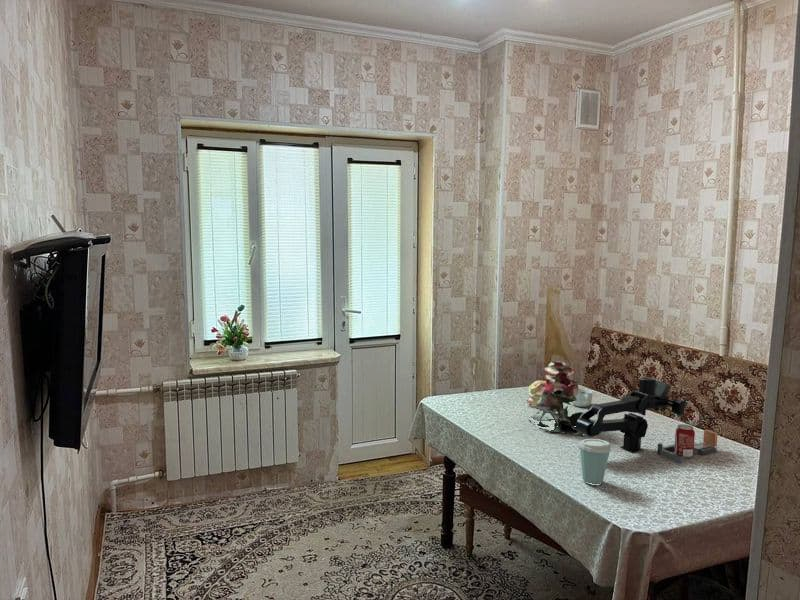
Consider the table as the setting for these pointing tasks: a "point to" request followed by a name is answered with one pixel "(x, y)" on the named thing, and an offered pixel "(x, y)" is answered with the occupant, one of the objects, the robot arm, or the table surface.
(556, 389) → the rose bouquet
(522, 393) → the table surface
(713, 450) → the ram guide
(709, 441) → the brown boxy piece
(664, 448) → the press fence
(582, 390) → the teacup
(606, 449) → the disposable coffee cup
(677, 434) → the soda can
